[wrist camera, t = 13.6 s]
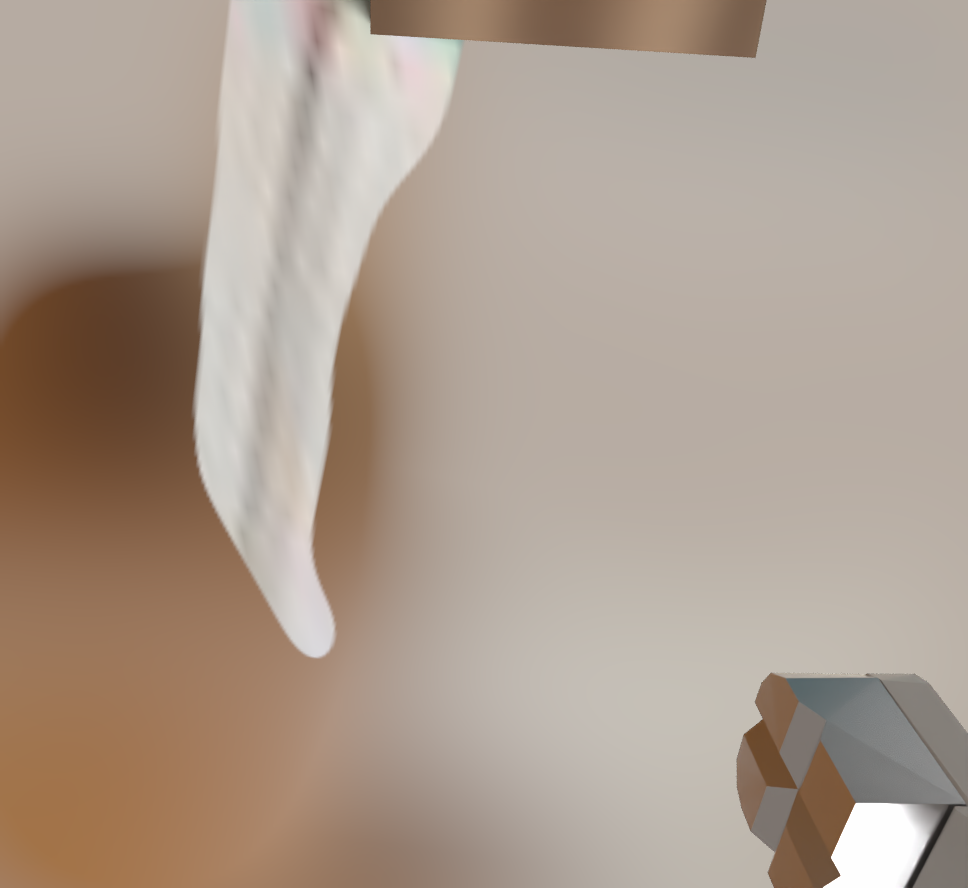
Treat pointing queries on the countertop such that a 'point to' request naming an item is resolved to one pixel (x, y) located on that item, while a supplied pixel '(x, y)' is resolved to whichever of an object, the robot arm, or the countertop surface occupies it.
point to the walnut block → (582, 23)
